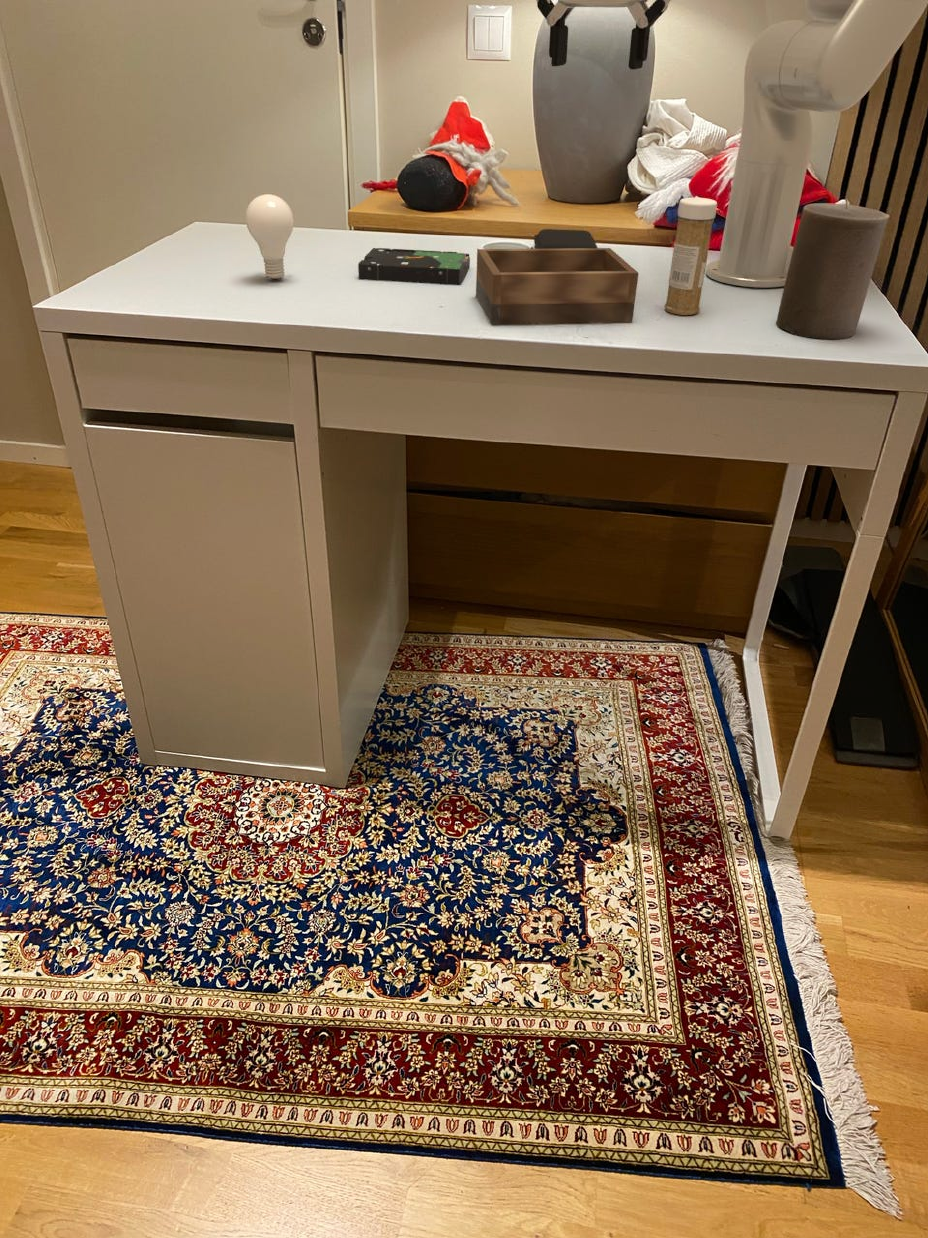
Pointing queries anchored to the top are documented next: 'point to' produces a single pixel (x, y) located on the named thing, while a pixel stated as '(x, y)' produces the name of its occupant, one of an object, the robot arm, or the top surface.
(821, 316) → the pillar candle
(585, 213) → the top surface
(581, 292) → the wooden box
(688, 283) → the spice jar
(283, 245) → the lightbulb
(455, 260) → the disk drive
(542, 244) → the carrying case or bag
